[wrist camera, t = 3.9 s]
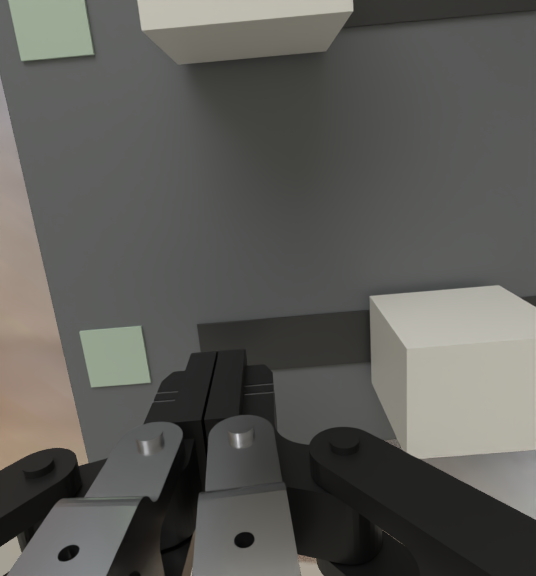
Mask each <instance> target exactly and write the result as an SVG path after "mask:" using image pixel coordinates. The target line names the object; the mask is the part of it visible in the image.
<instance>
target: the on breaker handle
mask: <svg viewBox="0 0 536 576" xmlns="http://www.w3.org/2000/svg"><path fill="white" fill-rule="evenodd" d="M137 2H138V9H139V16H140V23H141V30H142V31H143V32H144V33H145V34H146V35H147V36H148V37H149V38H150V39H151V40H152V41H153V42H154V43H155V44H156V45H157V46H159V47H160V48H161V49H162V50H163V51H164V52H165V53H166V54H167V55H168V56H169V57H170V58H171V59H172V60H173V61H174V62H175V63H177V64H178V65H181V64H192V63H203V62H214V61H225V60H236V59H247V58H258V57H269V56H280V55H291V54H302V53H313V52H324V51H327V49H328V48H329V46H330V45H331V43H332V42H333V40H334V39H335V37H336V36H337V35H338V33H339V32H340V30H341V29H342V27H343V26H344V24H345V23H346V21H347V20H348V18H349V17H350V15H351V14H352V12H353V0H137Z"/></svg>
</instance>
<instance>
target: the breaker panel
mask: <svg viewBox="0 0 536 576" xmlns="http://www.w3.org/2000/svg"><path fill="white" fill-rule="evenodd" d="M0 75H1V80H2V84H3V89H4V93H5V97H6V102H7V106H8V111H9V115H10V119H11V124H12V128H13V133H14V137H15V141H16V146H17V150H18V154H19V159H20V163H21V168H22V172H23V176H24V181H25V185H26V190H27V194H28V198H29V203H30V207H31V212H32V216H33V220H34V225H35V229H36V234H37V238H38V242H39V247H40V251H41V256H42V260H43V264H44V269H45V273H46V277H47V282H48V286H49V291H50V295H51V299H52V304H53V308H54V313H55V317H56V321H57V326H58V330H59V335H60V339H61V343H62V348H63V352H64V357H65V361H66V365H67V370H68V374H69V379H70V383H71V387H72V392H73V396H74V400H75V405H76V409H77V414H78V418H79V422H80V427H81V431H82V436H83V440H84V444H85V449H86V453H87V458H88V462H89V463H92V462H96V461H99V460H103V459H106V458H109V456H110V454H111V453H112V451H113V449H114V448H115V446H116V444H117V443H118V441H119V440H120V438H121V437H122V436H123V435H124V434H126V433H127V432H128V431H130V430H132V429H134V428H136V427H138V426H141V425H143V424H144V421H145V419H146V417H147V414H148V412H149V410H150V407H151V405H152V403H154V398H155V396H156V394H157V391H158V389H159V387H160V384H161V382H162V381H163V380H164V379H165V378H166V377H167V376H169V375H170V374H171V373H172V372H176V371H185V369H186V366H187V364H188V361H189V358H190V355H191V353H198V352H211V351H218V353H219V351H222V350H235V349H245V350H246V356H247V365H248V366H249V365H262V364H265V365H266V366H267V367H268V368H269V369H270V370H271V371H272V372H273V382H274V393H275V404H276V415H277V431H278V433H279V434H280V435H281V436H282V437H284V438H286V439H288V440H290V441H293V442H296V443H300V444H307V445H309V444H310V441H311V440H312V438H313V437H314V436H315V435H317V434H318V433H319V432H322V431H324V430H326V429H329V428H334V427H353V428H358V429H361V430H364V431H366V432H368V433H370V434H372V435H374V436H376V437H378V438H380V439H382V440H390V439H397V437H396V435H395V433H394V431H393V429H392V426H391V424H390V422H389V420H388V418H387V415H386V413H385V411H384V409H383V407H382V404H381V402H380V400H379V398H378V396H377V393H376V391H375V389H374V387H373V385H372V380H371V338H370V297H369V296H375V295H387V294H399V293H411V292H423V291H435V290H447V289H459V288H471V287H483V286H495V285H499V286H501V287H503V288H505V289H506V290H508V291H510V292H511V293H513V294H515V295H516V296H518V297H520V298H521V299H523V300H525V301H526V302H528V303H530V304H531V305H533V306H535V307H536V0H353V12H352V14H351V15H350V17H349V18H348V20H347V21H346V23H345V24H344V26H343V27H342V29H341V30H340V32H339V33H338V35H337V36H336V37H335V39H334V40H333V42H332V43H331V45H330V46H329V48H328V49H327V51H324V52H313V53H302V54H291V55H280V56H269V57H258V58H247V59H236V60H225V61H214V62H203V63H192V64H181V65H178V64H177V63H175V62H174V61H173V60H172V59H171V58H170V57H169V56H168V55H167V54H166V53H165V52H164V51H163V50H162V49H161V48H160V47H159V46H157V45H156V44H155V43H154V42H153V41H152V40H151V39H150V38H149V37H148V36H147V35H146V34H145V33H144V32H143V31H142V30H141V23H140V16H139V9H138V2H137V0H0Z"/></svg>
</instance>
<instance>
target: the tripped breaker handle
mask: <svg viewBox="0 0 536 576" xmlns="http://www.w3.org/2000/svg"><path fill="white" fill-rule="evenodd" d="M369 297H370V338H371V380H372V385H373V387H374V389H375V391H376V393H377V396H378V398H379V400H380V402H381V404H382V407H383V409H384V411H385V413H386V415H387V418H388V420H389V422H390V424H391V426H392V429H393V431H394V433H395V435H396V437H397V439H398V442H399V444H400V446H401V448H402V450H403V451H405V452H407V453H408V454H410V455H412V456H414V457H416V458H418V459H426V458H439V457H451V456H464V455H477V454H490V453H502V452H515V451H528V450H536V307H535V306H533V305H531V304H530V303H528V302H526V301H525V300H523V299H521V298H520V297H518V296H516V295H515V294H513V293H511V292H510V291H508V290H506V289H505V288H503V287H501V286H499V285H495V286H483V287H471V288H459V289H447V290H435V291H423V292H411V293H399V294H387V295H375V296H369Z"/></svg>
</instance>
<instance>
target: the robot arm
mask: <svg viewBox="0 0 536 576" xmlns="http://www.w3.org/2000/svg"><path fill="white" fill-rule="evenodd" d="M383 530H384V531H385V532H384V531H383ZM386 532H387V533H388V534H389V535H388V534H387V533H386ZM390 535H391V536H392V537H391V536H390ZM16 536H17V538H18V541H19V545H20V548H21V552H22V554H21V555H20V557H19V558H18V559H17V561H16V562H15V564H14V565H13V567H12V568H11V570H10V571H9V572H8V573H6V574H5V575H4V576H190V575H191V571H192V576H301V572H300V566H299V560H298V555H297V554H300V555H304V556H309V557H313V558H317V565H318V567H319V569H320V571H321V573H322V574H323V575H324V576H536V520H535V519H533V518H531V517H529V516H527V515H525V514H523V513H521V512H520V511H518V510H516V509H514V508H512V507H510V506H508V505H506V504H504V503H502V502H500V501H498V500H497V499H495V498H493V497H491V496H489V495H487V494H485V493H483V492H481V491H479V490H477V489H475V488H474V487H472V486H470V485H468V484H466V483H464V482H462V481H460V480H458V479H456V478H454V477H453V476H451V475H449V474H447V473H445V472H443V471H441V470H439V469H437V468H435V467H433V466H431V465H430V464H428V463H426V462H424V461H422V460H420V459H418V458H416V457H414V456H412V455H410V454H408V453H407V452H405V451H403V450H401V449H399V448H397V447H395V446H393V445H391V444H389V443H387V442H386V441H384V440H382V439H380V438H378V437H376V436H374V435H372V434H370V433H368V432H366V431H364V430H361V429H358V428H353V427H334V428H329V429H326V430H324V431H322V432H319V433H318V434H317V435H315V436H314V437H313V438H312V440H311V441H310V444H309V445H307V444H300V443H296V442H293V441H290V440H288V439H286V438H284V437H282V436H281V435H280V434H279V433H278V431H277V415H276V404H275V393H274V382H273V372H272V371H271V370H270V369H269V368H268V367H267V366H266V365H265V364H262V365H249V366H248V365H247V356H246V350H245V349H235V350H222V351H219V353H218V351H211V352H198V353H191V355H190V358H189V361H188V364H187V366H186V369H185V371H176V372H172V373H171V374H170V375H169V376H167V377H166V378H165V379H164V380H163V381H162V382H161V384H160V387H159V389H158V391H157V394H156V396H155V398H154V403H152V405H151V407H150V410H149V412H148V414H147V417H146V419H145V421H144V424H143V425H141V426H138V427H136V428H134V429H132V430H130V431H128V432H127V433H126V434H124V435H123V436H122V437H121V438H120V440H119V441H118V443H117V444H116V446H115V448H114V449H113V451H112V453H111V454H110V456H109V458H106V459H103V460H99V461H96V462H92V463H88V464H85V465H81V466H78V462H77V458H76V455H75V453H74V452H72V451H71V450H68V449H64V448H52V449H46V450H42V451H39V452H36V453H33V454H31V455H28V456H26V457H24V458H22V459H20V460H19V461H17V462H15V463H13V464H11V465H10V466H8V467H6V468H4V469H2V470H0V547H1V546H2V545H4V544H5V543H7V542H8V541H9V540H11V539H13V538H14V537H16ZM393 537H394V538H395V539H397V540H398V541H399V542H398V541H397V540H395V539H394V538H393ZM400 542H401V543H402V544H401V543H400ZM192 567H193V569H192Z"/></svg>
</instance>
